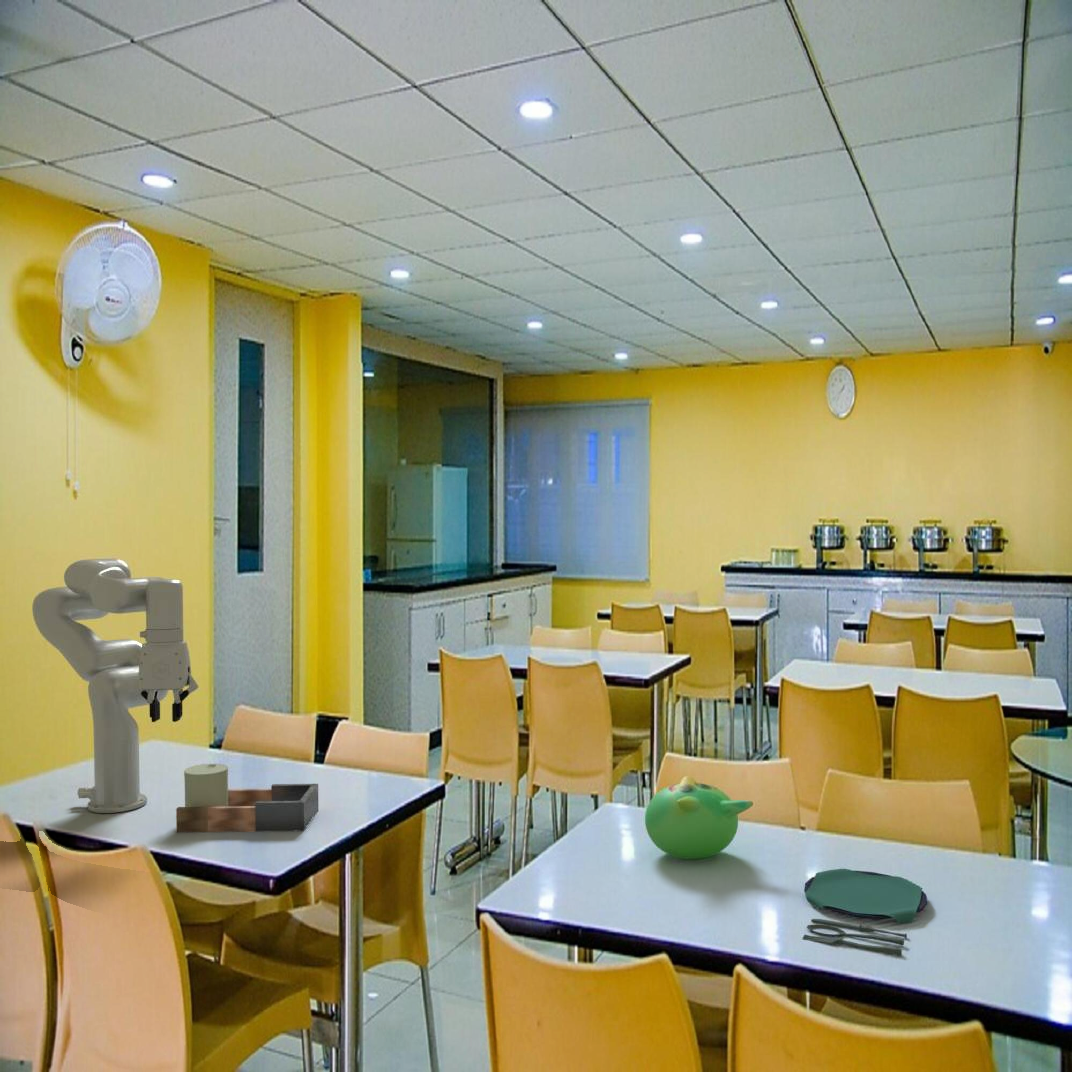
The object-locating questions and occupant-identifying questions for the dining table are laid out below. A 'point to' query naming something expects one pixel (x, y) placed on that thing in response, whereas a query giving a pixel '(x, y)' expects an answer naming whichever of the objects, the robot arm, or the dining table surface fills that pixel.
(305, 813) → the box
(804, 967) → the dining table surface
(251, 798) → the channel
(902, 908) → the cutlery set
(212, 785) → the can
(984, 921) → the dining table surface
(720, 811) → the toy bird
